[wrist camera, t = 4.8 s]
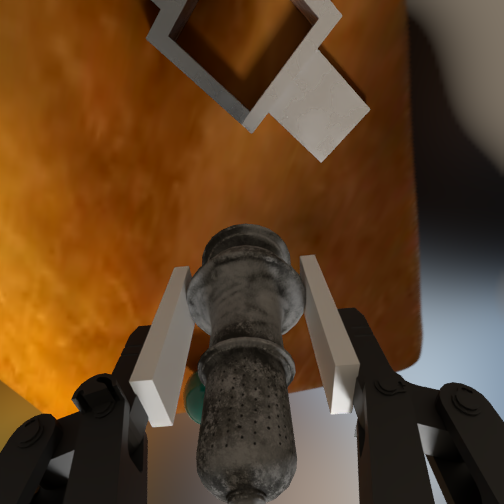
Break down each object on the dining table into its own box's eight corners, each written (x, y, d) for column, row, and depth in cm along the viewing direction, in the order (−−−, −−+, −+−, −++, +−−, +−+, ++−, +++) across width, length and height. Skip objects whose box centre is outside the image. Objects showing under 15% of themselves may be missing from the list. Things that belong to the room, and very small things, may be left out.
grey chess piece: (224, 200, 14) (169, 476, 4) (314, 246, 16) (440, 533, 6) (182, 279, 17) (83, 573, 7) (263, 313, 19) (286, 593, 8)
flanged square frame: (73, -31, 21) (52, -46, 18) (140, -212, 17) (124, -258, 14) (303, 177, 28) (307, 184, 26) (385, 87, 25) (399, 86, 22)
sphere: (202, 346, 41) (193, 397, 34) (248, 364, 43) (248, 415, 36) (180, 375, 44) (168, 427, 37) (224, 391, 46) (220, 443, 39)
